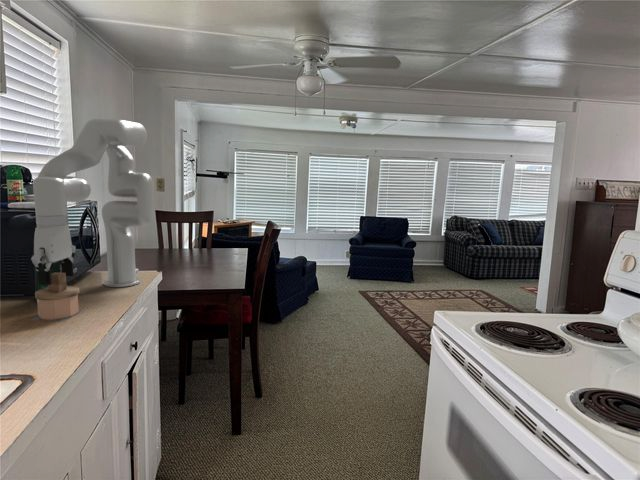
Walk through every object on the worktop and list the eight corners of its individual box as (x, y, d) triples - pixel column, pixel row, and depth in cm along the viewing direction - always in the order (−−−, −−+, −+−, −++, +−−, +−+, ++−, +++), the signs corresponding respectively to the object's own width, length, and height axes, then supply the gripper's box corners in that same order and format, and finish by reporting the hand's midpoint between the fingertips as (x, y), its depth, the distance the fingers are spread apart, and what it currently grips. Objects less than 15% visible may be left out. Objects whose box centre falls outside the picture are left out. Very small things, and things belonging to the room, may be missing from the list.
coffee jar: (59, 303, 128) (55, 246, 125) (32, 304, 126) (27, 246, 124) (72, 294, 137) (68, 241, 135) (46, 295, 136) (42, 241, 133)
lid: (52, 288, 121) (50, 269, 121) (87, 290, 121) (86, 270, 120) (25, 299, 111) (23, 277, 110) (64, 300, 111) (62, 279, 110)
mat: (53, 309, 122) (53, 308, 122) (86, 310, 122) (86, 309, 122) (29, 321, 112) (29, 319, 112) (64, 322, 112) (64, 321, 112)
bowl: (53, 308, 122) (52, 289, 121) (84, 309, 121) (83, 290, 121) (31, 319, 112) (29, 299, 111) (64, 320, 112) (63, 300, 111)
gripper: (59, 217, 121) (63, 272, 124) (15, 224, 104) (22, 288, 107) (84, 218, 121) (87, 273, 124) (44, 225, 104) (49, 289, 107)
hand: (57, 280), depth 116 cm, fingers open, 9 cm apart
